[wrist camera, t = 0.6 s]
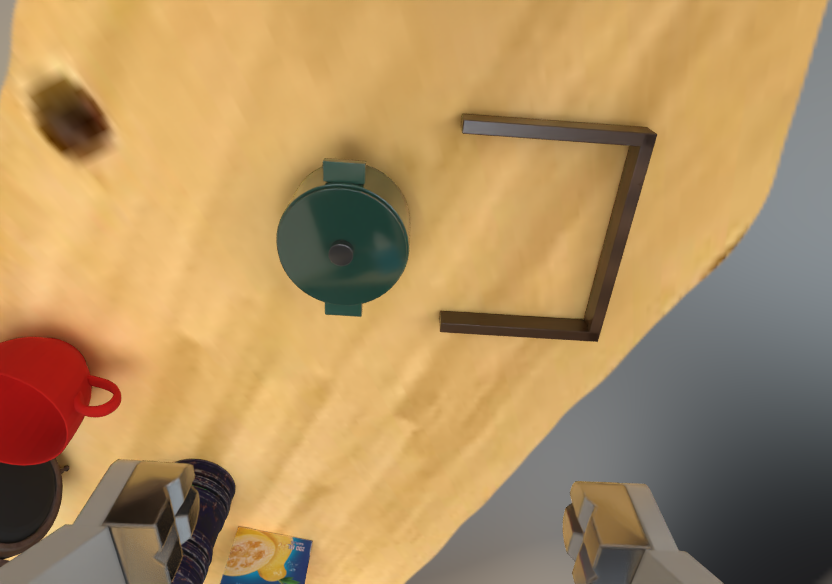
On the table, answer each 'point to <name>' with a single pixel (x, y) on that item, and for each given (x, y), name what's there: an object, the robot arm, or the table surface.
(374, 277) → the pot
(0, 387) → the ceramic cup
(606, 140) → the frame
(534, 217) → the table surface
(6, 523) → the alarm clock
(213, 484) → the storage jar
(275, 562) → the beverage box
